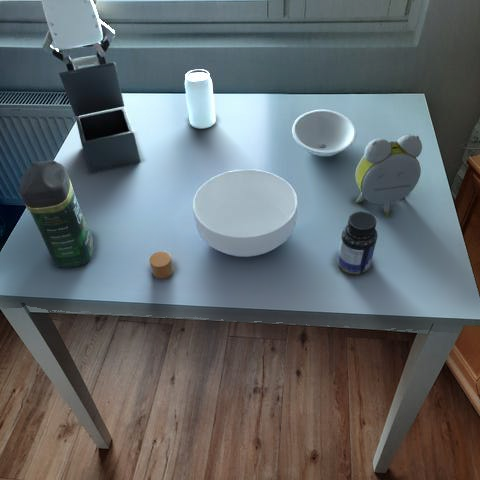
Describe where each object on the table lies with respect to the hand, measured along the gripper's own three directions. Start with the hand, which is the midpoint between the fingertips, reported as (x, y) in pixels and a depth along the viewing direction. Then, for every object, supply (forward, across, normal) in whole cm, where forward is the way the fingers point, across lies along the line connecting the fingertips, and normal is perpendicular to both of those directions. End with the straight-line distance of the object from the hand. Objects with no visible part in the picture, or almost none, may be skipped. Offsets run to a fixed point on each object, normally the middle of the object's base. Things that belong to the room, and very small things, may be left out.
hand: (89, 75), depth 104 cm
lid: (+2, 0, +3) cm, 4 cm away
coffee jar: (+16, +13, +36) cm, 42 cm away
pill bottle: (+16, -37, +59) cm, 71 cm away
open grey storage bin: (+16, 0, +6) cm, 17 cm away
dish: (+17, -47, +23) cm, 55 cm away
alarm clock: (+16, -50, +46) cm, 70 cm away
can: (+16, -24, +1) cm, 29 cm away
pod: (+16, -3, +48) cm, 51 cm away
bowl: (+16, -21, +44) cm, 51 cm away
